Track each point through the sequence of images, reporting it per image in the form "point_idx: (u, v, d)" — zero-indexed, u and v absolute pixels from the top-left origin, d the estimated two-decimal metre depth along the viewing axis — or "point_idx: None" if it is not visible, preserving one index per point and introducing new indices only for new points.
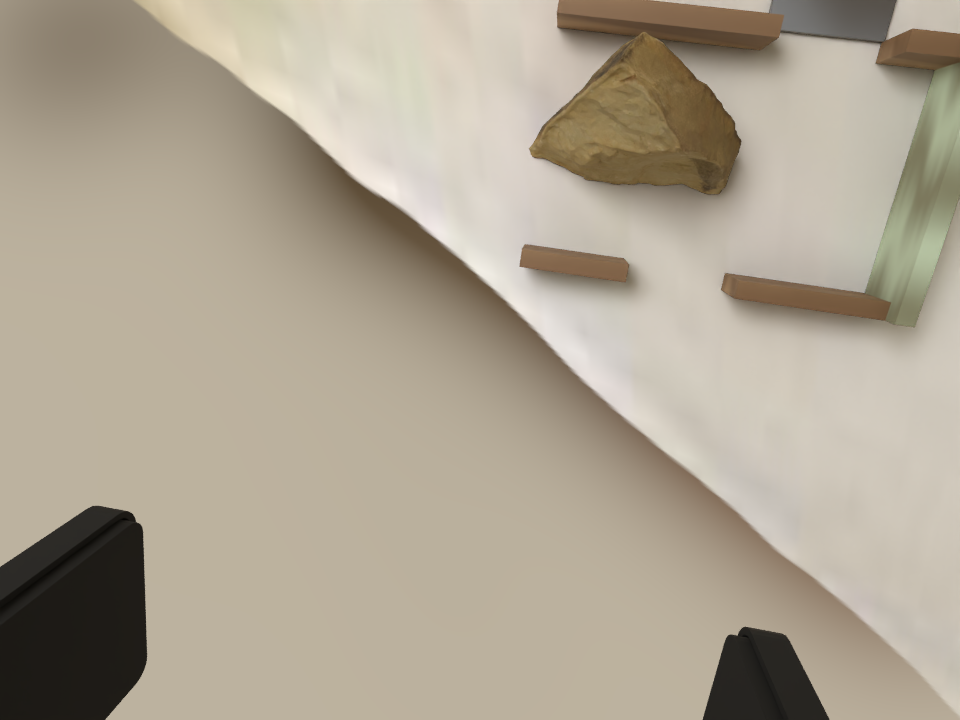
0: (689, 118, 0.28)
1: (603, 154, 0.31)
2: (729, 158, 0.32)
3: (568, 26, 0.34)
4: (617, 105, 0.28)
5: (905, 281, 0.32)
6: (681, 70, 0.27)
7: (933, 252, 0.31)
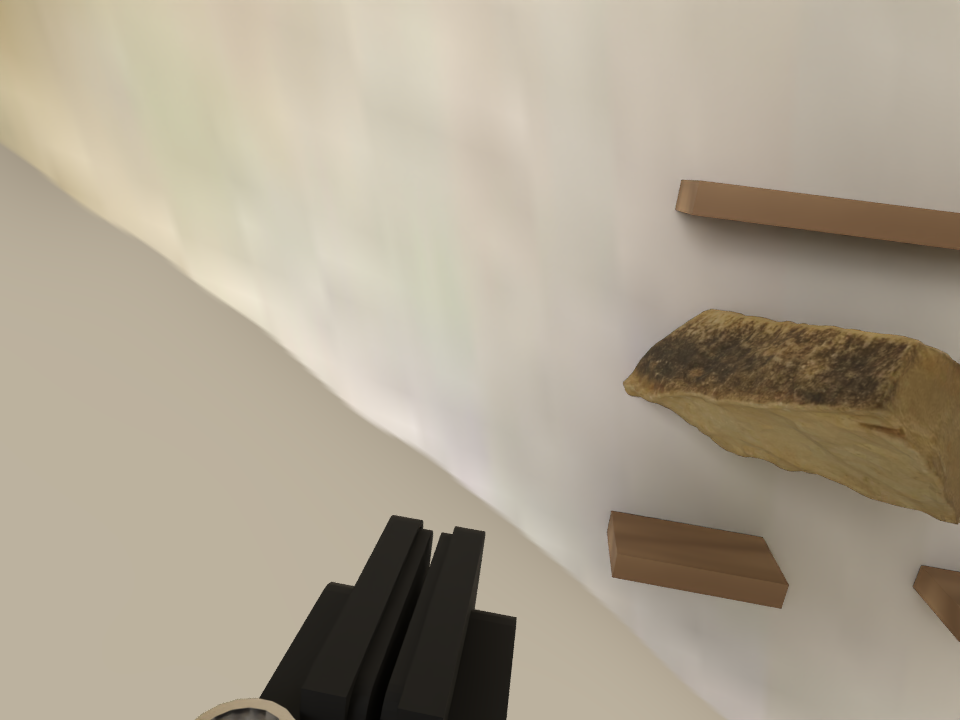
0: None
1: (774, 463, 0.18)
2: None
3: None
4: (837, 441, 0.15)
5: None
6: None
7: None
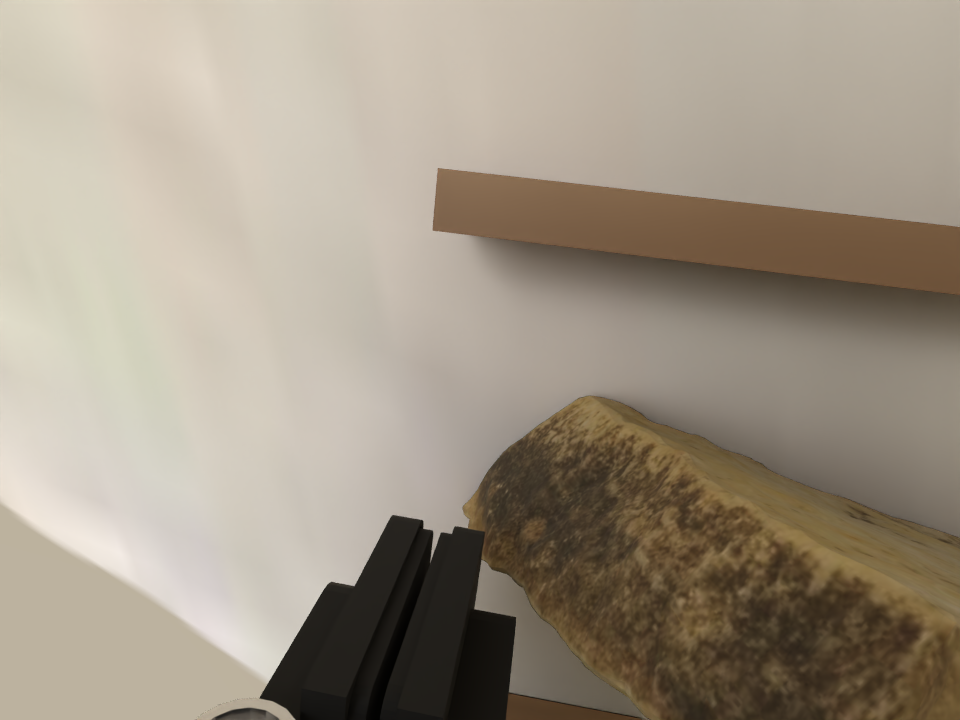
0: None
1: None
2: None
3: None
4: None
5: None
6: None
7: None
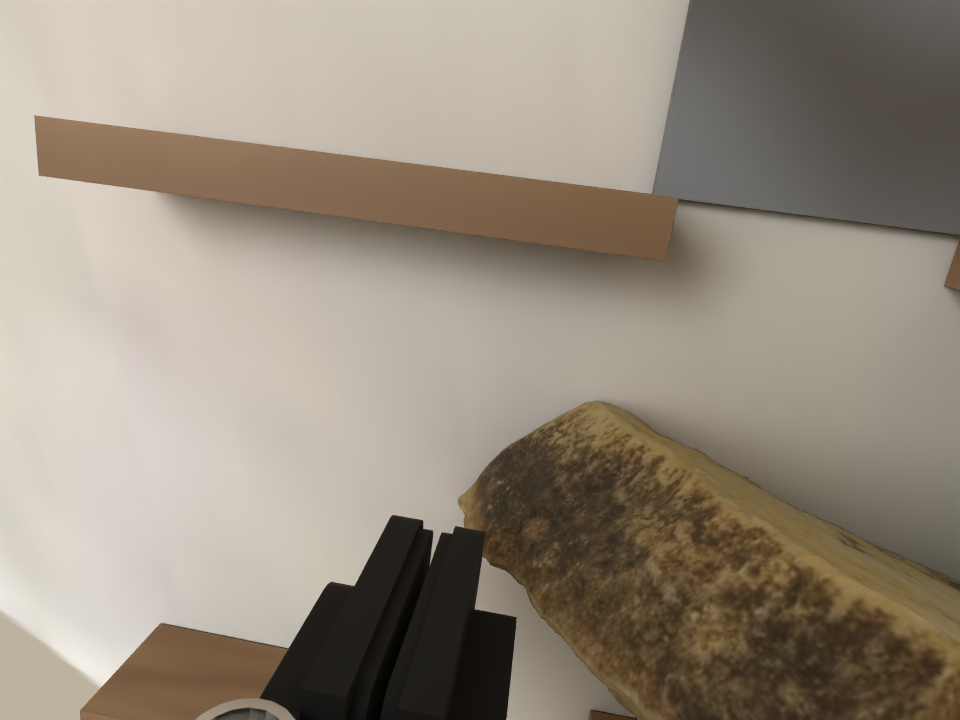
0: None
1: None
2: None
3: None
4: None
5: None
6: None
7: None
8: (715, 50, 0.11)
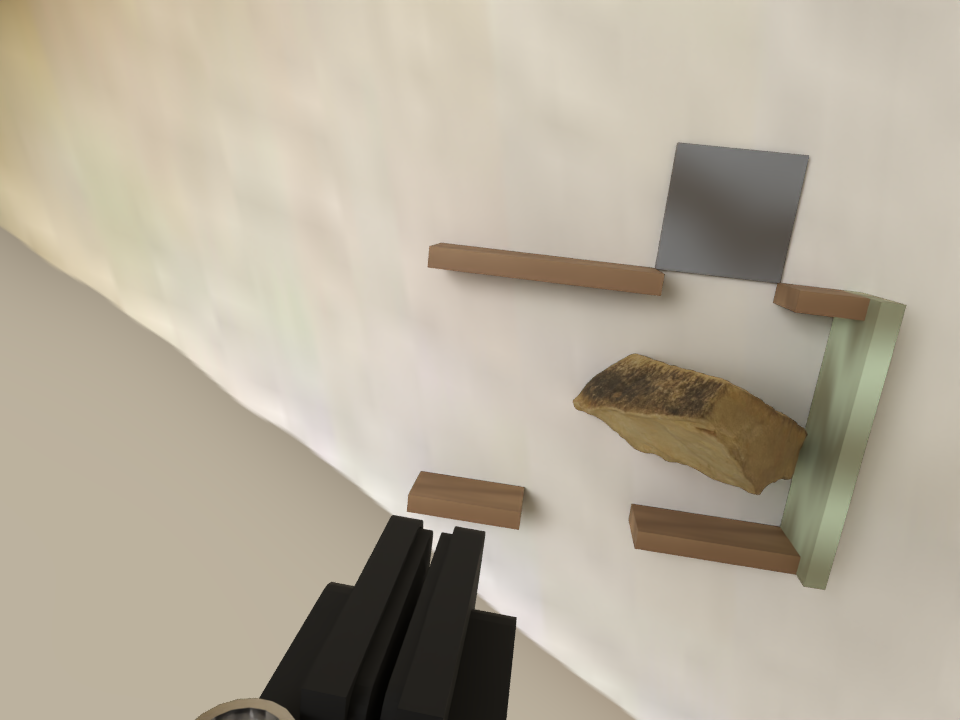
0: (765, 457, 0.25)
1: None
2: (796, 462, 0.29)
3: None
4: (687, 439, 0.25)
5: (812, 542, 0.30)
6: (762, 410, 0.24)
7: (838, 516, 0.29)
8: (678, 214, 0.30)
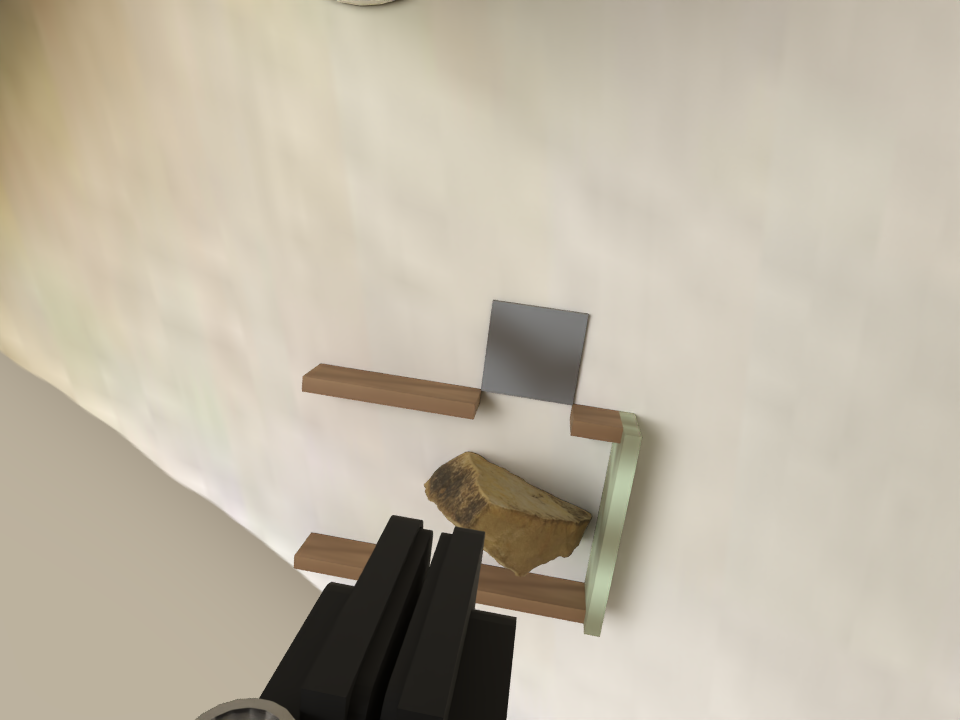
0: (528, 550, 0.35)
1: None
2: (575, 543, 0.39)
3: None
4: None
5: (589, 601, 0.39)
6: (522, 518, 0.34)
7: (605, 584, 0.39)
8: (495, 352, 0.39)
